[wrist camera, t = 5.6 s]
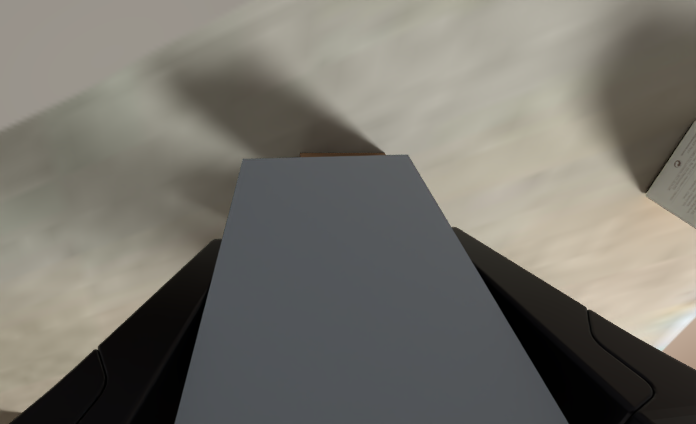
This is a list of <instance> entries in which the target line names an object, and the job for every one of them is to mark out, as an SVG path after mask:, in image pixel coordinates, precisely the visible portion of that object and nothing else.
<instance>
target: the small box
mask: <svg viewBox="0 0 696 424" xmlns="http://www.w3.org/2000/svg"><path fill="white" fill-rule="evenodd" d="M646 197H647V198H649V199H651V200H652V201H654V202H655V203H657V204H658V205H660V206H661V207H663V208H664V209H666V210H667V211H669V212H671V213H672V214H674V215H675V216H677V217H678V218H680V219H681V220H683V221H685V222H686V223H688V224H689V225H691V226H692V227H694V228H695V229H696V120H695V121H694V123H693V124H692V126H691V127H690V129H689V130H688V132H687V133H686V135H685V136H684V138H683V139H682V141H681V142H680V144H679V145H678V147H677V148H676V150H675V151H674V153H673V154H672V156H671V157H670V159H669V160H668V162H667V163H666V165H665V166H664V168H663V169H662V171H661V172H660V174H659V175H658V177H657V178H656V180H655V181H654V183H653V184H652V186H651V187H650V189H649V190H648V192H647V193H646Z"/></svg>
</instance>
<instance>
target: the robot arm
mask: <svg viewBox="0 0 696 424" xmlns="http://www.w3.org/2000/svg"><path fill="white" fill-rule="evenodd" d="M451 228H452V229H453V231H454V233H455V234H456V236H457V238H458V239H459V241H460V243H461V244H462V246H463V248H464V249H465V251H466V253H467V254H468V256H469V258H470V259H471V261H472V263H473V264H474V266H475V268H476V269H477V271H478V273H479V275H480V276H481V278H482V280H483V281H484V283H485V285H486V286H487V288H488V290H489V291H490V293H491V295H492V296H493V298H494V300H495V301H496V303H497V305H498V306H499V308H500V310H501V311H502V313H503V315H504V316H505V318H506V320H507V321H508V323H509V325H510V326H511V328H512V330H513V331H514V333H515V335H516V336H517V338H518V340H519V341H520V343H521V345H522V346H523V348H524V350H525V351H526V353H527V355H528V356H529V358H530V360H531V361H532V363H533V365H534V366H535V368H536V370H537V371H538V373H539V375H540V376H541V378H542V380H543V381H544V383H545V385H546V387H547V388H548V390H549V392H550V393H551V395H552V397H553V398H554V400H555V402H556V403H557V405H558V407H559V408H560V410H561V412H562V413H563V415H564V417H565V418H566V420H567V422H568V423H569V424H696V370H695V369H693V368H691V367H689V366H687V365H686V364H684V363H682V362H680V361H678V360H676V359H674V358H672V357H671V356H669V355H667V354H665V353H663V352H662V351H660V350H658V349H656V348H654V347H653V346H651V345H649V344H647V343H645V342H644V341H642V340H640V339H638V338H636V337H635V336H633V335H631V334H630V333H628V332H626V331H625V330H623V329H621V328H620V327H618V326H616V325H615V324H613V323H611V322H609V321H608V320H606V319H605V318H603V317H601V316H600V315H598V314H597V313H595V312H593V311H592V310H587V308H586V307H585V306H583V305H582V304H580V303H579V302H577V301H575V300H574V299H572V298H570V297H569V296H567V295H566V294H564V293H562V292H561V291H559V290H557V289H556V288H554V287H553V286H551V285H549V284H548V283H546V282H544V281H543V280H541V279H540V278H538V277H536V276H535V275H533V274H531V273H530V272H528V271H527V270H525V269H523V268H522V267H520V266H519V265H517V264H515V263H514V262H512V261H510V260H509V259H507V258H506V257H504V256H502V255H501V254H499V253H497V252H496V251H494V250H493V249H491V248H489V247H488V246H486V245H484V244H483V243H481V242H480V241H478V240H476V239H475V238H473V237H471V236H470V235H468V234H467V233H465V232H463V231H462V230H460V229H458V228H457V227H451ZM221 242H222V239H214V240H212V241H211V242H210V243H209V244H208V245H207V246H206V247H204V248H203V249H202V250H201V251H200V252H199V253H198V254H197V255H196V256H195V257H194V258H193V259H192V260H190V261H189V262H188V263H187V264H186V265H185V266H184V267H183V268H182V269H181V270H180V271H179V272H177V273H176V274H175V275H174V276H173V277H172V278H171V279H170V280H169V281H168V282H167V283H166V284H165V285H163V286H162V287H161V288H160V289H159V290H158V291H157V292H156V293H155V294H154V295H153V296H152V297H151V298H149V299H148V300H147V301H146V302H145V303H144V304H143V305H142V306H141V307H140V308H139V309H138V310H137V311H135V312H134V313H133V314H132V315H131V316H130V317H129V318H128V319H127V320H126V321H125V322H124V323H123V324H121V325H120V326H119V327H118V328H117V329H116V330H115V331H114V332H113V333H112V334H111V335H110V336H109V337H107V338H106V339H105V340H104V341H103V342H102V343H101V344H100V345H99V346H98V350H97V349H95V350H93V351H92V352H91V353H90V354H89V355H88V356H87V357H86V358H85V359H84V360H82V361H81V362H80V363H79V364H78V365H77V366H76V367H75V368H74V369H73V370H71V371H70V372H69V373H68V374H67V375H66V376H65V377H64V378H62V379H61V380H60V381H59V382H58V383H57V384H56V385H55V386H54V387H52V388H51V389H50V390H49V391H48V392H47V393H45V394H44V395H43V396H42V397H41V398H39V399H38V400H37V401H36V402H35V403H33V404H32V405H31V406H30V407H29V408H27V409H26V410H25V411H24V412H23V413H21V414H20V415H19V416H18V417H17V418H15V419H14V420H13V421H12V422H10V423H9V424H175V420H176V416H177V412H178V409H179V405H180V401H181V397H182V393H183V389H184V385H185V381H186V378H187V374H188V370H189V366H190V362H191V358H192V354H193V350H194V347H195V343H196V339H197V335H198V331H199V327H200V323H201V319H202V316H203V312H204V308H205V304H206V300H207V296H208V292H209V288H210V285H211V281H212V277H213V273H214V269H215V265H216V261H217V257H218V254H219V250H220V246H221Z"/></svg>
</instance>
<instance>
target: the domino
mask: <svg viewBox="0 0 696 424" xmlns="http://www.w3.org/2000/svg"><path fill="white" fill-rule="evenodd" d="M175 424H569V423H568V422H567V420H566V418H565V417H564V415H563V413H562V412H561V410H560V408H559V407H558V405H557V403H556V402H555V400H554V398H553V397H552V395H551V393H550V392H549V390H548V388H547V387H546V385H545V383H544V381H543V380H542V378H541V376H540V375H539V373H538V371H537V370H536V368H535V366H534V365H533V363H532V361H531V360H530V358H529V356H528V355H527V353H526V351H525V350H524V348H523V346H522V345H521V343H520V341H519V340H518V338H517V336H516V335H515V333H514V331H513V330H512V328H511V326H510V325H509V323H508V321H507V320H506V318H505V316H504V315H503V313H502V311H501V310H500V308H499V306H498V305H497V303H496V301H495V300H494V298H493V296H492V295H491V293H490V291H489V290H488V288H487V286H486V285H485V283H484V281H483V280H482V278H481V276H480V275H479V273H478V271H477V269H476V268H475V266H474V264H473V263H472V261H471V259H470V258H469V256H468V254H467V253H466V251H465V249H464V248H463V246H462V244H461V243H460V241H459V239H458V238H457V236H456V234H455V233H454V231H453V229H452V228H451V226H450V224H449V223H448V221H447V219H446V218H445V216H444V214H443V213H442V211H441V209H440V208H439V206H438V204H437V203H436V201H435V199H434V198H433V196H432V194H431V193H430V191H429V189H428V188H427V186H426V184H425V183H424V181H423V179H422V178H421V176H420V174H419V173H418V171H417V169H416V168H415V166H414V164H413V162H412V161H411V159H410V157H409V156H408V155H373V156H335V157H296V158H258V159H243V161H242V164H241V168H240V172H239V176H238V180H237V184H236V188H235V192H234V195H233V199H232V203H231V207H230V211H229V215H228V219H227V223H226V226H225V230H224V234H223V238H222V242H221V246H220V250H219V254H218V257H217V261H216V265H215V269H214V273H213V277H212V281H211V285H210V288H209V292H208V296H207V300H206V304H205V308H204V312H203V316H202V319H201V323H200V327H199V331H198V335H197V339H196V343H195V347H194V350H193V354H192V358H191V362H190V366H189V370H188V374H187V378H186V381H185V385H184V389H183V393H182V397H181V401H180V405H179V409H178V412H177V416H176V420H175Z"/></svg>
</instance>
